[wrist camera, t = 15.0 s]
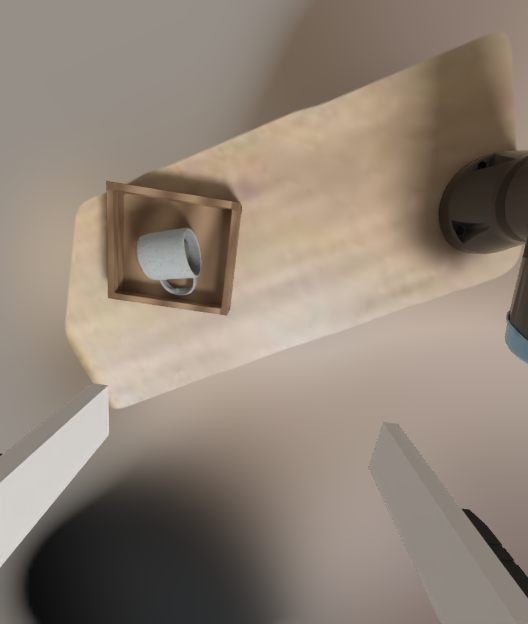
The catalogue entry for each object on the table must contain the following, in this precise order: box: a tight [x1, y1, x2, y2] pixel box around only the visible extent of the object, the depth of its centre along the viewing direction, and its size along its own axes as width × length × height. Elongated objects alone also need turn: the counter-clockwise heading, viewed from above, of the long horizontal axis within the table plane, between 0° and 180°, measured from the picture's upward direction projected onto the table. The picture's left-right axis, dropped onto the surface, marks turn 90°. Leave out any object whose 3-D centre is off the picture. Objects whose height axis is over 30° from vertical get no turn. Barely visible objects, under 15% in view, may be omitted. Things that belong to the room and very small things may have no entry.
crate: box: [107, 181, 242, 315], centre depth 42 cm, size 20×18×4 cm
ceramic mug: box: [134, 228, 202, 295], centre depth 39 cm, size 11×8×8 cm
